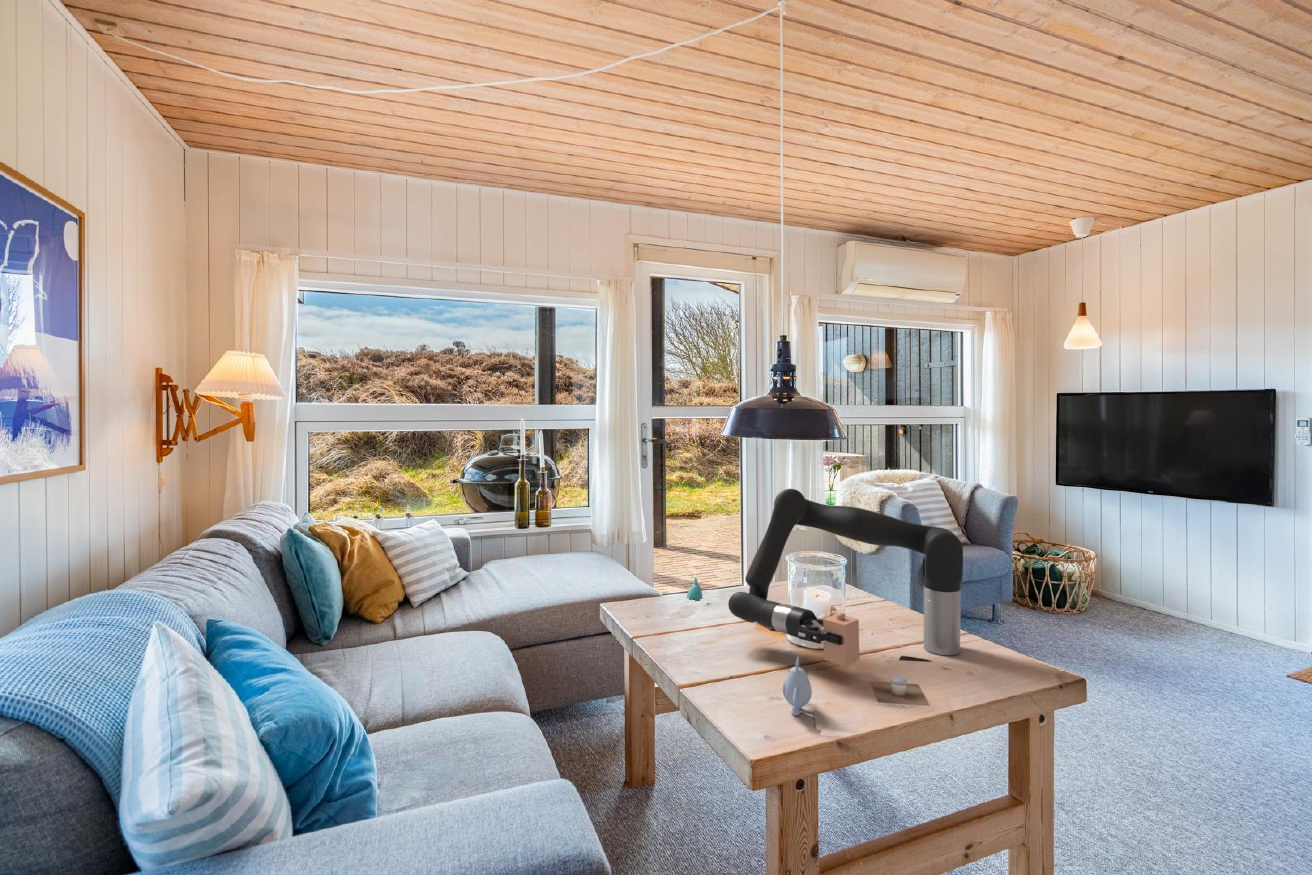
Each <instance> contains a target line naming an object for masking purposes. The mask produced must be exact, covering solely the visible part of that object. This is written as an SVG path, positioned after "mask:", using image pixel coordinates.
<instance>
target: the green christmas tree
mask: <svg viewBox="0 0 1312 875" xmlns="http://www.w3.org/2000/svg"><path fill="white" fill-rule="evenodd" d="M686 594H687V595H686V599H687V598H689V600H695V601H700V599H704V597H703V590H702V588H701V586H700V584H699V582H698V578H697V577H694V580H693V583H692V586H691V587H690V589H689V590H688V592H687V593H686Z"/></svg>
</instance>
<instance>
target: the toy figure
mask: <svg viewBox="0 0 1312 875" xmlns="http://www.w3.org/2000/svg"><path fill="white" fill-rule="evenodd" d="M812 690H813V689H812V685H811V682H810V678H809V677H808V675H807V673H806V670H804V668H803V667H802V666H801V667H800V656H797V657H796V660H795V666H793V667H791V668H790V669H789V670H788V673H787V675H786V676H785V679H784V681H783V684H782V694H783V697H784V699H785V700H786V702H787V703H788V704H789V705H791V706H792V709H791V711H790V714H791V715H792V716H797V717H798V716H800V714H801V712H802V711H801V710H802V707H805V706H806V705H807V704H808V703H809V702H810V700H811V698H812V693H813V691H812Z"/></svg>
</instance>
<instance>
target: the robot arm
mask: <svg viewBox="0 0 1312 875" xmlns="http://www.w3.org/2000/svg"><path fill="white" fill-rule="evenodd" d="M795 526H802V527H808V528H814V529H819V530H822V531H825V532H827V533H831V534H834V535H837V536H839V537H843V538H846V539H849V540H853V541H856V542H860V543H864V544H867V545H868V544H869V545H873V546H883V547H897V548H898V547H899V548H904V549H906V550H907V549H908V550H911V551H915V552H918V553H920V554H922V555H925V573H924V577H923V649H925V651H927V652H929V653H932V654H935V655H941V656H956V655H959V654H960V652H961V613H962V612H961V608H962V607H961V606H962V605H961V602H962V601H961V599H962V598H961V597H962V596H961V587H962V586H961V585H962V581H963V573H964V572H963V570H964V547H963V544H962V541H961V540H960V538H959V537H958V536H957V535H956V534H955V533H954V532H952V531H951V530H949V529H947V528H944V527H940V526H939V527H938V526H932V525H931V526H930V525H923V524H918V523H917V524H916V523H911V522H907V521H904V520H902V519H899V518H897V517H896V518H895V517H893V516H890V515H887V514H883V513H880V512H877V511H873V510H870V509H869V510H868V509H866V508H861V507H855V506H848V505H847V506H844V505H830V504H828V505H827V504H823V503H819V502H815V501H812V500H809V499H807V498H805V495H804V494H803V493H802V492H801V491H799V490H798V489H795V488H786V489H784V490H782V491H780V492H779V493H778V494H777V495H776V497H775V498H774V502H773V509H772V513H771V517H770V522H769V523H768V527H767V530H766V531H765V534H764V537H763V539H762V541H761V542H760V544H759V547H758V549H757V551H756V552H755V555H754V557H753V559H752V561H751V564H750V565H749V567H748V571H747V572H746V575H745V582H746V584H747V585H748V586H749V590H748V592H746V591H736V592H735V593H733V594H732V595H730V598H729V600H728V609H729V611H730V613H731V614H732V615H733V616H734V617H737V618H738V619H740V620H743V621H744V622H747V623H752V624H753V623H758V624H760V625H762V626H764V627H766V628H769V629H772V630H775V631H778V632H780V633H782V634H784V635H788V636H791V637H795V638H797V639H799V640H802V641H807V642H809V643H810V642H811V643H815V644H818V645H819V644H822V642H823V643H824V642H831V643H834V644H837V645H842V644H843V637H842V636H841V635H838V634H834V633H831V632H829V633H828V631H825V630H823V619H824V618H821V617H818V618H817V616H816V615H815V613H814V612H813V611H812V610H810V609H808V608H803V607H800V606H796V605H793V604H786V603H780V602H777V601H772V600H768V595H769V587H770V584H772V580H773V578H774V576H775V573H776V571H777V568H778V566H779V564H780V560H781V559H782V554H783V552H784V548H785V546H786V543H787V541H788V539H789V537H790V534H791V532H792V530H793V529H794V527H795ZM830 616H831V615H830ZM830 616H828V617H830Z"/></svg>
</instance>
